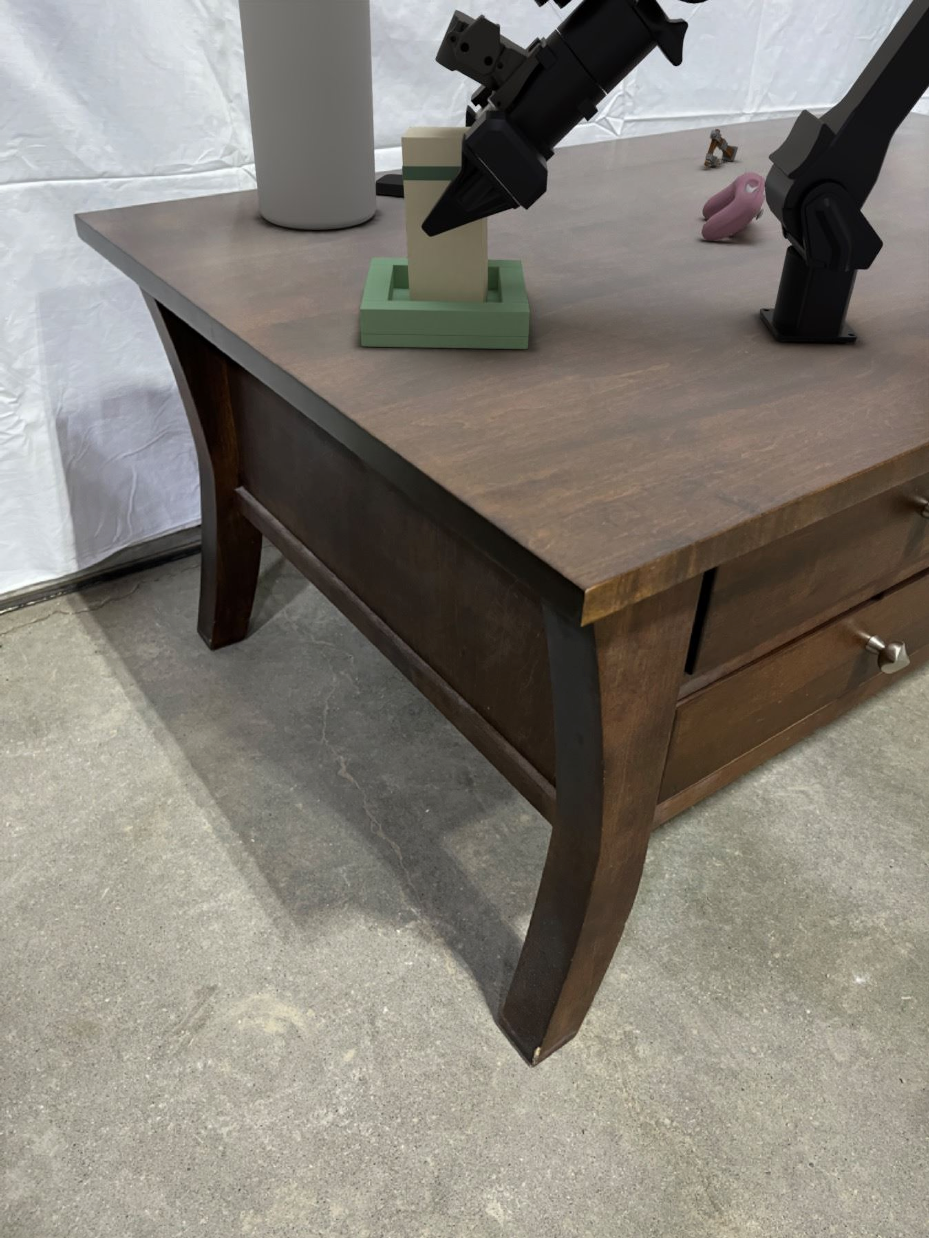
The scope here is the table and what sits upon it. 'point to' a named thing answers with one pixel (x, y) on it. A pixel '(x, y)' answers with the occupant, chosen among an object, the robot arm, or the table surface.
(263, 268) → the table surface
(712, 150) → the grey brown angular piece
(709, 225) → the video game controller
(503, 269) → the green rectangular tray
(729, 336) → the table surface
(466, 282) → the cream rectangular block
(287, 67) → the cylinder vase
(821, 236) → the robot arm
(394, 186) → the remote control
